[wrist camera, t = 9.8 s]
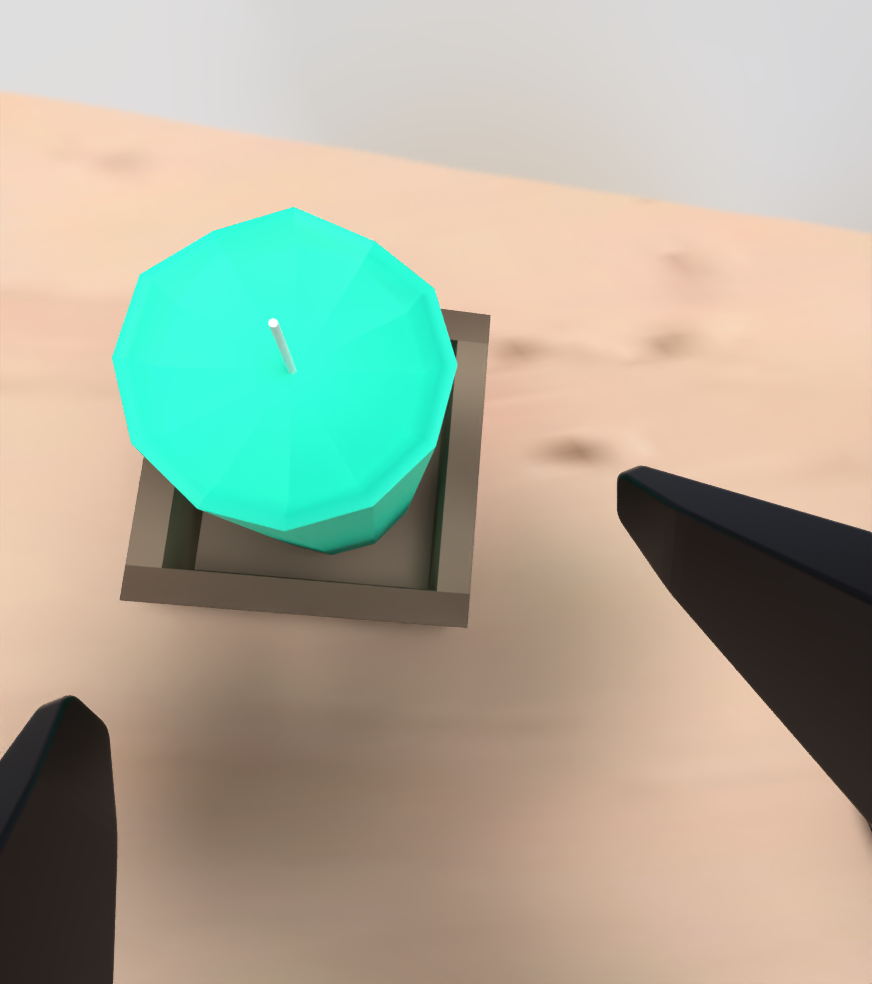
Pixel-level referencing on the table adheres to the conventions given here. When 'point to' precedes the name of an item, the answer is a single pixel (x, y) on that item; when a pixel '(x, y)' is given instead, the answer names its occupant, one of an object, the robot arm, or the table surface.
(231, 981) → the table surface
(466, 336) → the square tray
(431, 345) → the candle
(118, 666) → the table surface
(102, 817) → the robot arm
